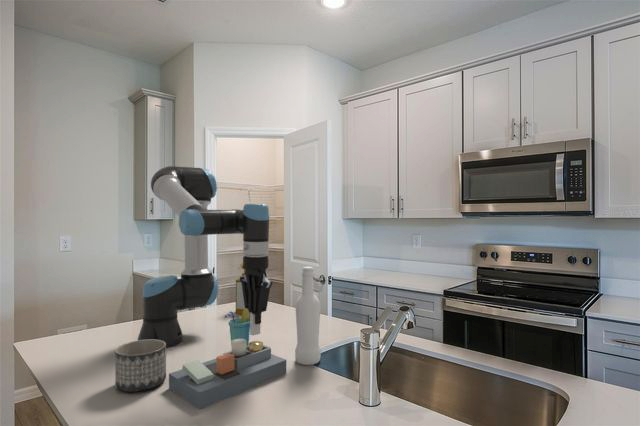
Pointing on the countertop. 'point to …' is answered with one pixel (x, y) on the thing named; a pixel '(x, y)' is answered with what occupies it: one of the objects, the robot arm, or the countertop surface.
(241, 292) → the soap bottle
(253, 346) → the button brass
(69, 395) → the countertop surface
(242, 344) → the button ivory
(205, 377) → the block
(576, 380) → the countertop surface
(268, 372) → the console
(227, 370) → the slider knob
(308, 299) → the bottle
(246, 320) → the cup
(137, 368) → the planter
